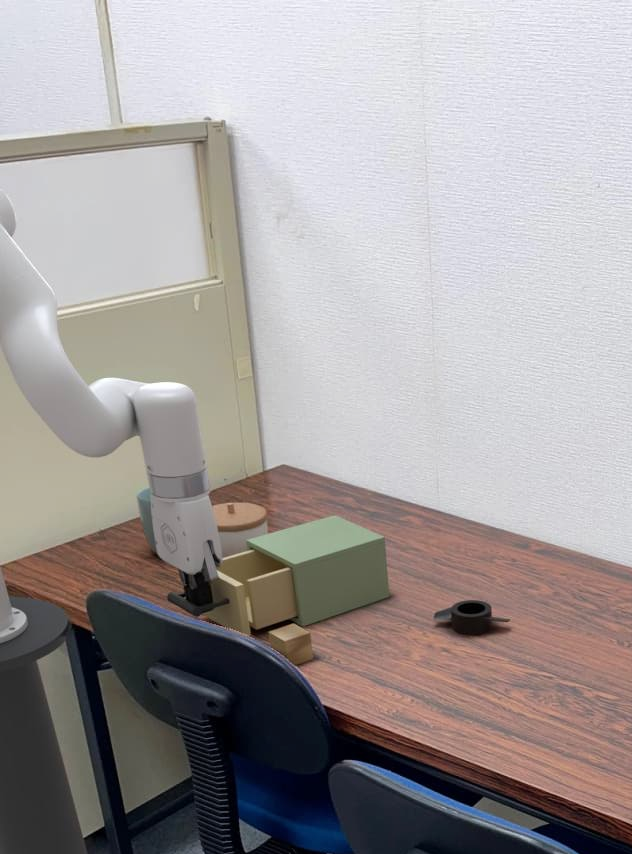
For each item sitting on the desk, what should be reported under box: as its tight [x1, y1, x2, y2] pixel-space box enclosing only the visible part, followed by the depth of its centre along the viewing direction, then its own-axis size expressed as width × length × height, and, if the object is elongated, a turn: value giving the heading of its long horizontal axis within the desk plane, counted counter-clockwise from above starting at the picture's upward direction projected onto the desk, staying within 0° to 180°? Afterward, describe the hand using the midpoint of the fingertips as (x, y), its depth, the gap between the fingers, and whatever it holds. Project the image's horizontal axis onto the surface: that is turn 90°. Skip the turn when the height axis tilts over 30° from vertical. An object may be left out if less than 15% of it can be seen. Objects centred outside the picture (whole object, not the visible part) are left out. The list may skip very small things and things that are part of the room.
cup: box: [136, 487, 157, 554], centre depth 192 cm, size 8×8×10 cm
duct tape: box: [433, 599, 511, 636], centre depth 172 cm, size 8×10×3 cm
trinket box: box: [212, 502, 269, 558], centre depth 190 cm, size 11×11×9 cm
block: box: [268, 622, 314, 667], centre depth 162 cm, size 4×4×4 cm
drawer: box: [166, 549, 298, 637], centre depth 170 cm, size 20×11×8 cm, turn 136°
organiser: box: [246, 514, 390, 628], centre depth 177 cm, size 16×13×10 cm
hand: (201, 610), depth 166 cm, fingers closed
